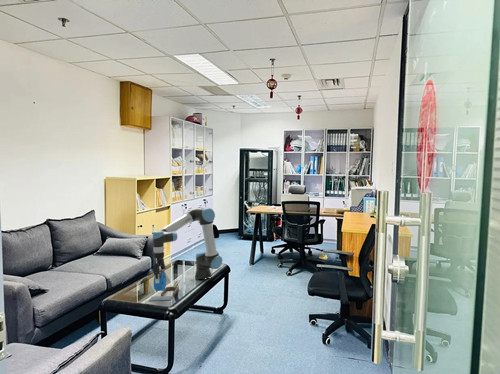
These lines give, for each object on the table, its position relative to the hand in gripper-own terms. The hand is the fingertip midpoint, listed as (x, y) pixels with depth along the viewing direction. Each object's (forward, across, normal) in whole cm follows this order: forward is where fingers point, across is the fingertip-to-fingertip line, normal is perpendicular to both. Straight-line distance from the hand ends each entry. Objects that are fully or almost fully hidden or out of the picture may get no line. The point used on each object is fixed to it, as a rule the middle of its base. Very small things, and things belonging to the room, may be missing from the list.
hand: (160, 280), depth 250 cm
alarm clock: (+8, 0, 0) cm, 8 cm away
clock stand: (+14, +12, -4) cm, 19 cm away
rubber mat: (+14, 0, 0) cm, 14 cm away
